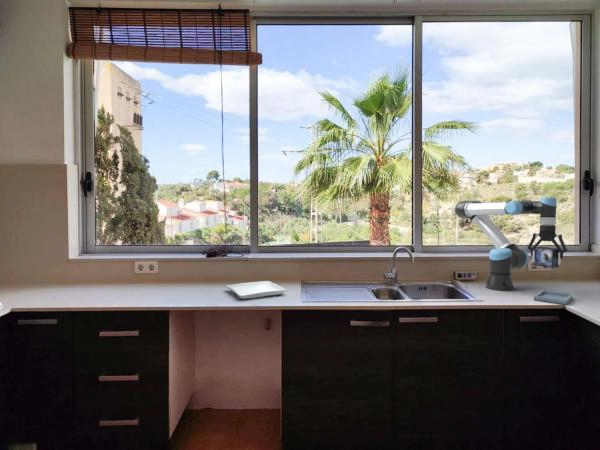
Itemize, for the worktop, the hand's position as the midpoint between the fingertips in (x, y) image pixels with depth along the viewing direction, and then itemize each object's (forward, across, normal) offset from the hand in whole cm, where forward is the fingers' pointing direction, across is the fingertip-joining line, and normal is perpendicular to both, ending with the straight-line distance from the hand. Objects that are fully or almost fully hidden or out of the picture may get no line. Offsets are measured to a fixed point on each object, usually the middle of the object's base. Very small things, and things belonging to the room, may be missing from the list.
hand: (546, 263), depth 215 cm
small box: (+2, 0, 0) cm, 2 cm away
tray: (+17, +7, -16) cm, 24 cm away
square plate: (+17, -120, -114) cm, 166 cm away
